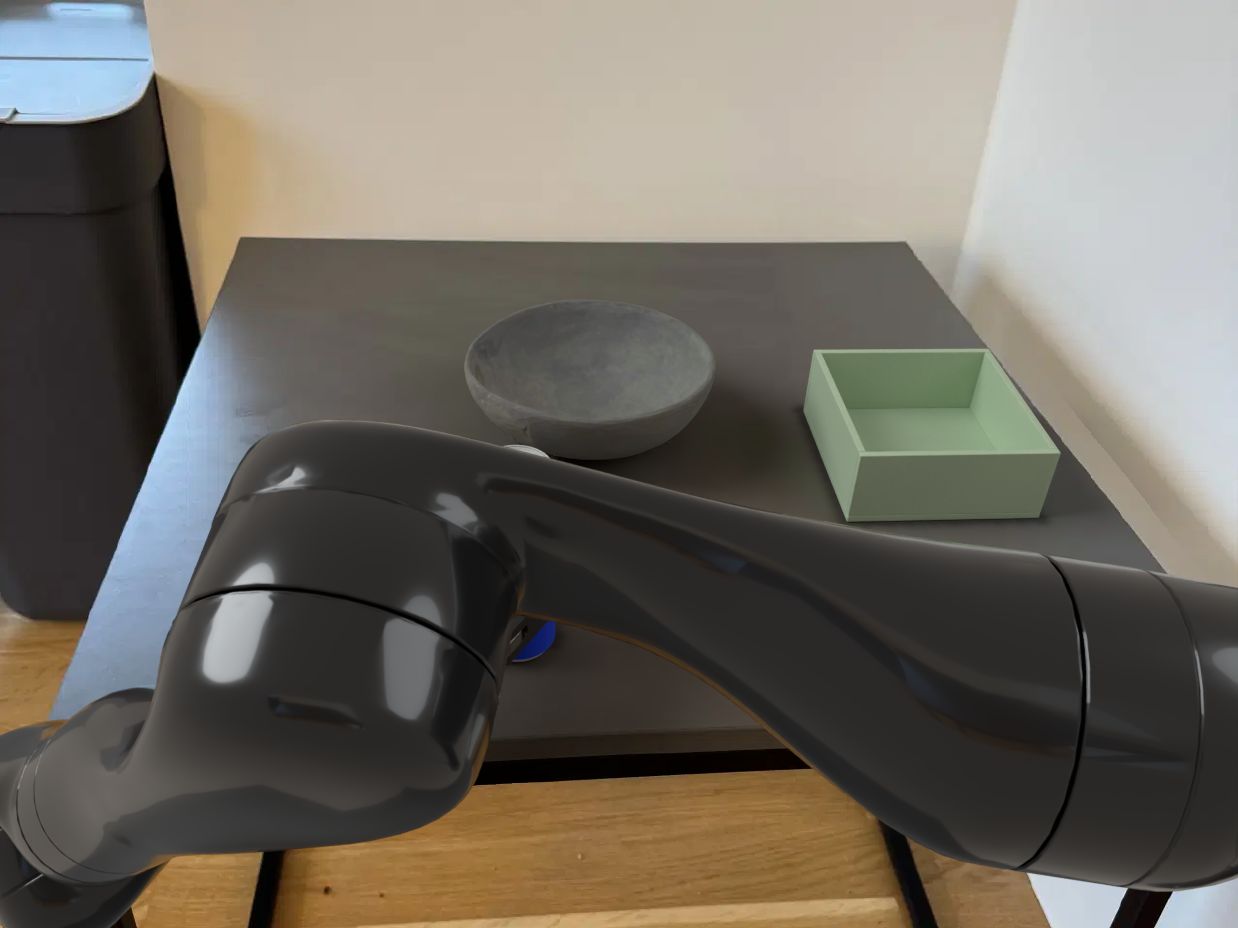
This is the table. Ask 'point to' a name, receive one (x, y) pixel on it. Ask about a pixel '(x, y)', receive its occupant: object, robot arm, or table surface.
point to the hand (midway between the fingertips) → (544, 522)
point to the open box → (926, 435)
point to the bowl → (590, 377)
